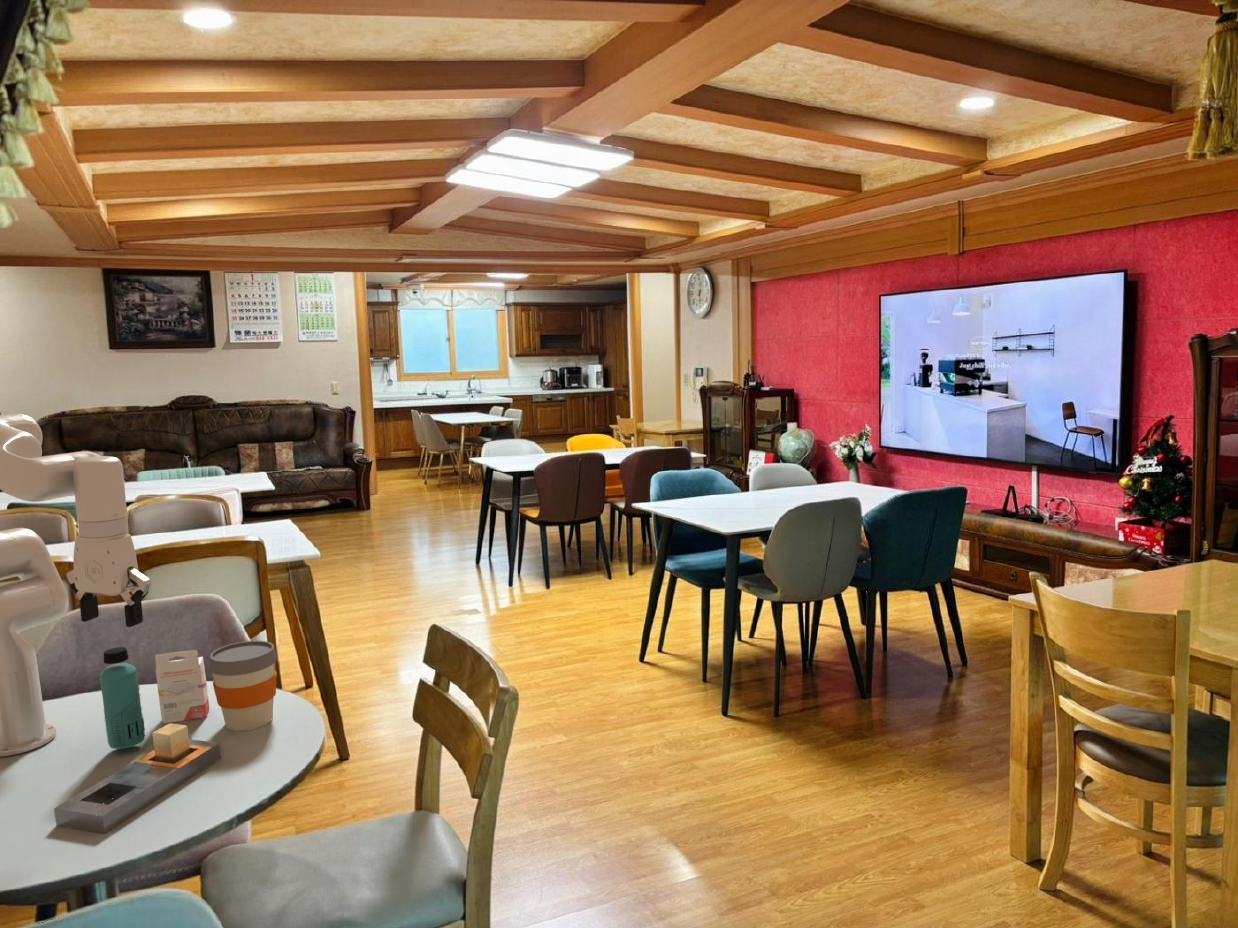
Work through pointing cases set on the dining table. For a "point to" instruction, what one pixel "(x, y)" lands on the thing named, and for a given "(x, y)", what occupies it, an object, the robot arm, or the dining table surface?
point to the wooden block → (171, 743)
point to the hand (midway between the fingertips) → (112, 621)
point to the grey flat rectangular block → (133, 789)
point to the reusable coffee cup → (245, 683)
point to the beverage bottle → (121, 700)
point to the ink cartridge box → (181, 686)
